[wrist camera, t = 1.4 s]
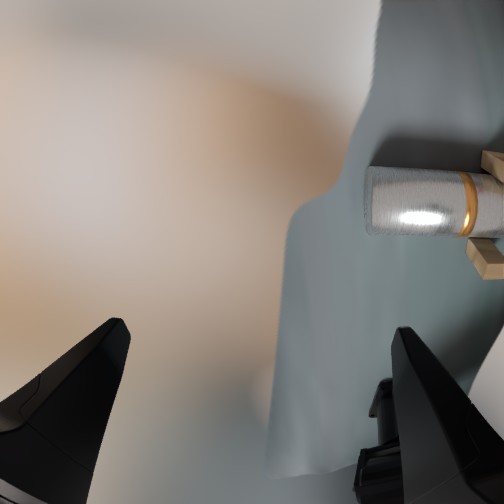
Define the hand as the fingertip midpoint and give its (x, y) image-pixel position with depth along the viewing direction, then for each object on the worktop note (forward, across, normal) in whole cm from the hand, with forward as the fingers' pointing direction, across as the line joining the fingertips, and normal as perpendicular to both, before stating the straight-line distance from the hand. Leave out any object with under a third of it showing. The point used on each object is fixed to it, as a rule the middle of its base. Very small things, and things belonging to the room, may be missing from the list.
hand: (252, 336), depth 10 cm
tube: (+12, -11, +1) cm, 17 cm away
